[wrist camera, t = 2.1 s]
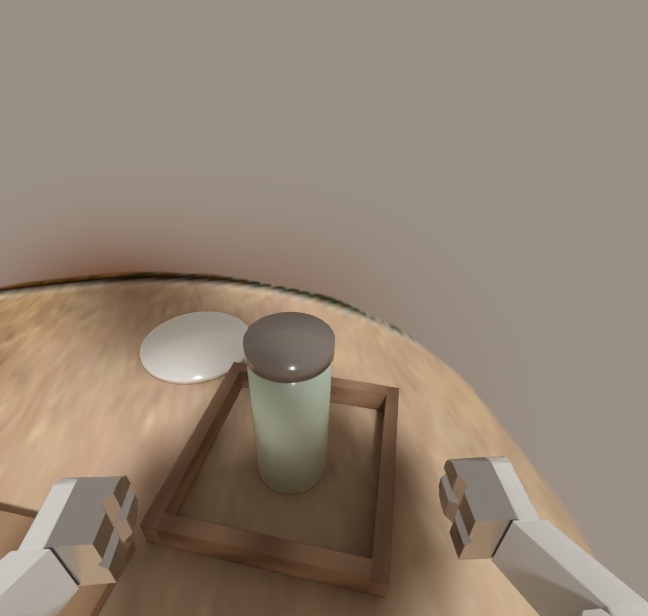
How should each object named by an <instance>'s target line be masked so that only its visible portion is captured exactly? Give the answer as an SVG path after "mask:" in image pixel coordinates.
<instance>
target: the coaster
mask: <svg viewBox="0 0 648 616" xmlns="http://www.w3.org/2000/svg"><path fill="white" fill-rule="evenodd" d="M248 328H249V327H248V326H247V325H246V324H245V323H244V322H243V321H242V320H241V319H239V318H237V317H235V316H233V315H231V314H227V313H223V312H216V311H200V312H192V313H187V314H183V315H180V316H177V317H174V318H172V319H169V320H167V321H165V322H163V323H162V324H160V325H158V326H157V327H156V328H154V329H153V330H152V331H151V332H150V333H149V334H148V335H147V336H146V337H145V339H144V340H143V342H142V344H141V347H140V358H141V362H142V365H143V367H144V369H145V370H146V371H147V372H148V373H149V374H150V375H151V376H153V377H154V378H156V379H158V380H161V381H164V382H168V383H173V384H196V383H203V382H207V381H211V380H214V379H216V378H219V377H221V376H224V375H226V374H227V373H228V371H229V369H230V368H231V366H232V364H233V362H238V363H242V362H243V361H244V360H245V357H244V349H243V337H244V334H245V332H246V331H247V329H248Z"/></svg>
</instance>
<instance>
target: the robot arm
mask: <svg viewBox="0 0 648 616" xmlns="http://www.w3.org/2000/svg"><path fill="white" fill-rule="evenodd" d="M444 469H445V472H446V474H445V475H444V476H442V477H441V479H440V483H439V498H440V503H441V507H442V510H443V513H444V515H445V516H446V517H447V518H448V519H449V520H450V521H451V522H452V527H451V530H450V535H451V538H452V541H453V544H454V547H455V550H456V553H457V556H458V559H459V560H466V559H492V561H493V563H494V564H495V565H496V566H497V567H498V568H499V569H500V571H501V572H502V573H503V574H504V575H505V576H506V577H507V579H508V580H509V581H510V582H511V583H512V584H513V585H514V587H515V588H516V589H517V590H518V591H519V592H520V593H521V595H522V596H523V597H524V598H525V599H526V600H527V601H528V603H529V604H530V605H531V606H532V607H533V608H534V609H535V611H536V612H537V613H538V614H539V615H540V616H648V603H647V602H646V601H645V600H644V599H643V598H641V597H640V596H639V595H638V594H636V593H635V592H634V591H633V590H632V589H630V588H629V587H628V586H627V585H626V584H624V583H623V582H622V581H621V580H619V579H618V578H617V577H616V576H614V575H613V574H612V573H611V572H610V571H608V570H607V569H606V568H605V567H604V566H603V565H601V564H600V563H599V562H598V561H596V560H595V559H594V558H593V557H592V556H590V555H589V554H588V553H587V552H586V551H584V550H583V549H582V548H581V547H580V546H578V545H577V544H576V543H575V542H573V541H572V540H571V539H570V538H569V537H567V536H566V535H565V534H564V533H563V532H561V531H560V530H559V529H558V528H556V527H555V526H554V525H553V524H552V523H550V522H549V521H548V520H547V519H540V518H539V516H538V514H537V512H536V510H535V508H534V506H533V504H532V503H531V501H530V499H529V497H528V495H527V493H526V491H525V489H524V488H523V486H522V484H521V482H520V480H519V478H518V476H517V474H516V472H515V471H514V469H513V467H512V465H511V463H510V461H509V460H508V459H507V458H506V457H486V458H484V457H478V458H463V459H449V460H447V461H446V463H445V466H444ZM129 486H130V482H129V480H128V478H127V476H108V477H78V478H60V479H59V480H58V481H57V482H56V483H55V484H54V485H53V486H52V488H51V490H50V492H49V494H48V496H47V497H46V499H45V501H44V503H43V505H42V507H41V508H40V510H39V512H38V514H37V516H36V518H35V519H34V521H33V523H32V525H31V527H30V529H29V530H28V532H27V534H26V536H25V538H24V540H23V541H22V543H21V545H20V547H19V549H18V550H15V551H10V552H9V553H8V554H7V555H5V556H4V557H3V558H2V559H1V560H0V616H57V614H58V613H59V612H60V611H61V610H62V608H63V607H64V606H65V605H66V604H67V602H68V601H69V600H70V599H71V598H72V596H73V595H74V594H75V593H76V592H77V590H78V589H79V587H78V586H84V585H95V584H105V583H116V582H117V579H118V576H119V573H120V570H121V567H122V564H123V561H124V558H125V555H126V549H125V546H124V544H123V542H124V541H125V540H126V539H127V538H128V537H129V536H130V535H131V534H132V533H133V531H134V527H135V524H136V521H137V514H138V501H137V497H136V495H135V493H133V492H131V491H130V490H128V489H129Z"/></svg>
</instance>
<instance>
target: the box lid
mask: <svg viewBox="0 0 648 616" xmlns="http://www.w3.org/2000/svg"><path fill="white" fill-rule="evenodd" d="M34 519H35V518H31V517H27V516H22V515H18V514H14V513H10V512H6V511H1V510H0V560H1V559H2V558H3V557H4V556H5V555H7V554H8V553H9V552H10V551H15V550H18V549H19V547H20V545H21V543H22V541H23V540H24V538H25V536H26V534H27V532H28V530H29V529H30V527H31V525H32V523H33V521H34ZM123 544H124V546H125V549H126V555H125V558H124V561H123V564H122V567H121V570H120V573H119V576H118V578H119V577H120V575H121V573H122V571H123V569H124V568H125V566H126V564H127V562H128V560H129V559H130V557H131V555H132V553H133V551H134V550H135V546H134V544H133V542H132V541H127V540H125V541H124V542H123ZM117 580H118V579H117ZM115 584H116V583H105V584H95V585H84V586H78V587H79V589H78V590H77V592H76V593H75V594H74V595H73V596H72V598H71V599H70V600H69V601H68V602H67V604H66V605H65V606H64V607H63V608H62V610H61V611H60V612H59V613H58V614H57V616H98V614H99V612H100V611H101V609H102V607H103V605H104V603H105V602H106V600H107V598H108V596H109V594H110V593H111V591H112V589H113V587H114V586H115Z"/></svg>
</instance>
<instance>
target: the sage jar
mask: <svg viewBox="0 0 648 616" xmlns="http://www.w3.org/2000/svg"><path fill="white" fill-rule="evenodd" d="M334 348H335V336H334V333H333V331H332V329H331V328H330V326H329V325H328V324H327V323H325V322H324V321H323V320H321V319H319V318H317V317H315V316H312V315H309V314H305V313H298V312H283V313H276V314H272V315H269V316H266V317H263V318H261V319H259V320H258V321H256V322H254V323H253V324H252V325H251V326H250V327H249V328H248V329H247V331H246V332H245V334H244V337H243V349H244V357H245V362H246V364H247V370H248V379H249V388H250V398H251V407H252V416H253V425H254V434H255V444H256V453H257V462H258V470H259V474H260V476H261V478H262V480H263V481H264V483H265V484H266V485H267V486H269V487H270V488H271V489H273V490H275V491H277V492H280V493H285V494H297V493H301V492H304V491H307V490H309V489H311V488H312V487H314V486H315V485H316V484H317V483H318V482H319V481H320V480H321V478H322V477H323V475H324V473H325V470H326V464H327V446H328V428H329V409H330V391H331V373H332V361H333V358H334Z"/></svg>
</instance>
